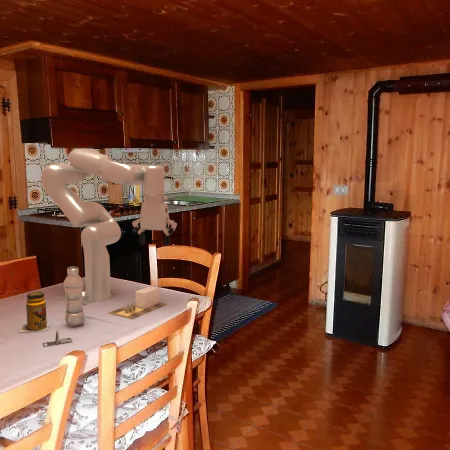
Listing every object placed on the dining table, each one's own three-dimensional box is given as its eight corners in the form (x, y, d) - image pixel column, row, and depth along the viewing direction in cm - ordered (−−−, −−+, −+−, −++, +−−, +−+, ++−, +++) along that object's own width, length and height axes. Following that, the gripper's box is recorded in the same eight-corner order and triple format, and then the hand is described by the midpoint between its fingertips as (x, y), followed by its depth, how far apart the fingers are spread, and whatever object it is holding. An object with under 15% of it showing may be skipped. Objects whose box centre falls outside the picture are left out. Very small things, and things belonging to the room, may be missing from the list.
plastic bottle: (66, 329, 147) (64, 271, 144) (63, 323, 152) (61, 266, 150) (86, 326, 150) (84, 269, 147) (83, 320, 155) (81, 265, 153)
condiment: (46, 331, 145) (44, 296, 144) (18, 333, 143) (16, 297, 142) (49, 323, 152) (48, 289, 151) (23, 325, 150) (21, 291, 149)
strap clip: (71, 339, 139) (71, 327, 138) (72, 343, 136) (72, 330, 136) (42, 344, 135) (41, 331, 135) (43, 348, 132) (42, 334, 132)
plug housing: (144, 308, 163) (144, 293, 163) (135, 306, 166) (135, 291, 165) (159, 303, 171) (158, 288, 170) (150, 301, 173) (150, 286, 172)
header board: (132, 323, 153) (132, 312, 152) (107, 317, 159) (107, 306, 158) (168, 307, 170) (168, 297, 169) (144, 302, 176) (144, 292, 175)
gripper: (179, 199, 163) (179, 244, 166) (136, 197, 167) (137, 242, 169) (173, 200, 156) (173, 247, 158) (127, 199, 160) (128, 245, 162)
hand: (154, 244), depth 164 cm, fingers open, 9 cm apart
